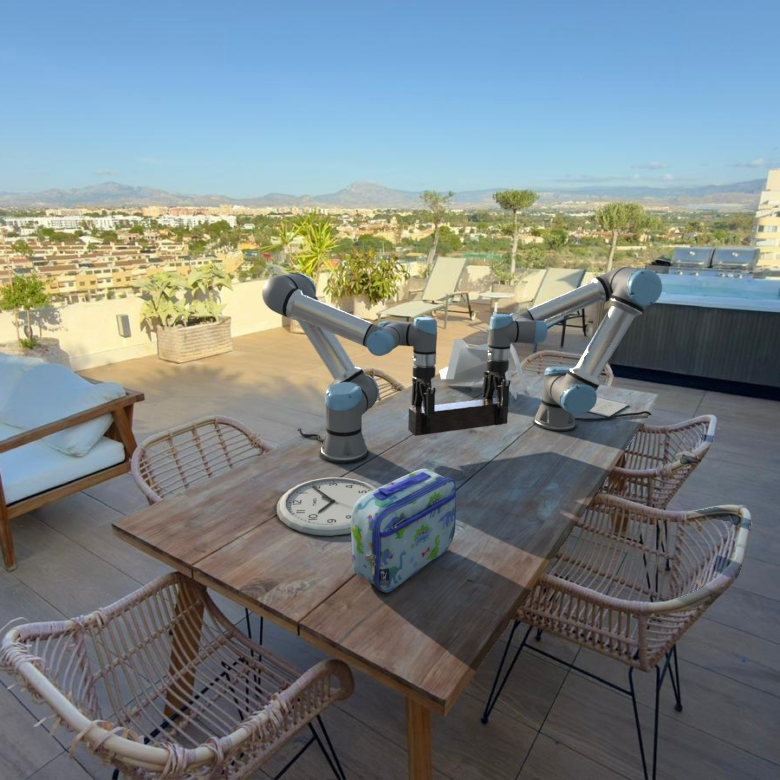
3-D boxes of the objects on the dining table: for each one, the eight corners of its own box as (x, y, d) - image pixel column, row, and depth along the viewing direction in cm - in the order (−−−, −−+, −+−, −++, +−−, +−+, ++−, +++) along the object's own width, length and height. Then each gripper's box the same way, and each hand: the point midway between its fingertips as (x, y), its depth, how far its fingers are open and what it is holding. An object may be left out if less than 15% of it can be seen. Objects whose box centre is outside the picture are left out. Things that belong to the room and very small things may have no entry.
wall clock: (392, 527, 129) (268, 531, 127) (391, 533, 130) (269, 537, 127) (383, 473, 158) (282, 475, 155) (383, 478, 158) (282, 480, 156)
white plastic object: (461, 429, 252) (437, 405, 227) (444, 352, 274) (420, 323, 250) (535, 404, 240) (518, 377, 215) (510, 326, 262) (492, 293, 237)
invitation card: (608, 416, 214) (573, 407, 224) (608, 416, 214) (573, 408, 224) (628, 404, 229) (594, 396, 238) (628, 405, 229) (594, 397, 238)
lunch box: (379, 605, 105) (380, 513, 99) (344, 580, 112) (343, 493, 106) (459, 552, 123) (464, 471, 116) (425, 533, 130) (428, 456, 124)
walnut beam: (497, 418, 193) (499, 397, 190) (507, 423, 187) (508, 402, 185) (408, 429, 180) (408, 407, 178) (415, 436, 175) (415, 413, 172)
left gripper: (402, 359, 179) (401, 422, 186) (426, 373, 162) (423, 442, 169) (422, 357, 182) (420, 420, 188) (447, 371, 165) (444, 439, 171)
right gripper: (474, 353, 189) (471, 414, 196) (504, 366, 172) (498, 432, 179) (492, 352, 191) (488, 411, 198) (523, 364, 175) (517, 429, 181)
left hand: (421, 430), depth 179 cm, fingers closed on walnut beam, 6 cm apart
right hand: (493, 421), depth 189 cm, fingers closed on walnut beam, 6 cm apart
